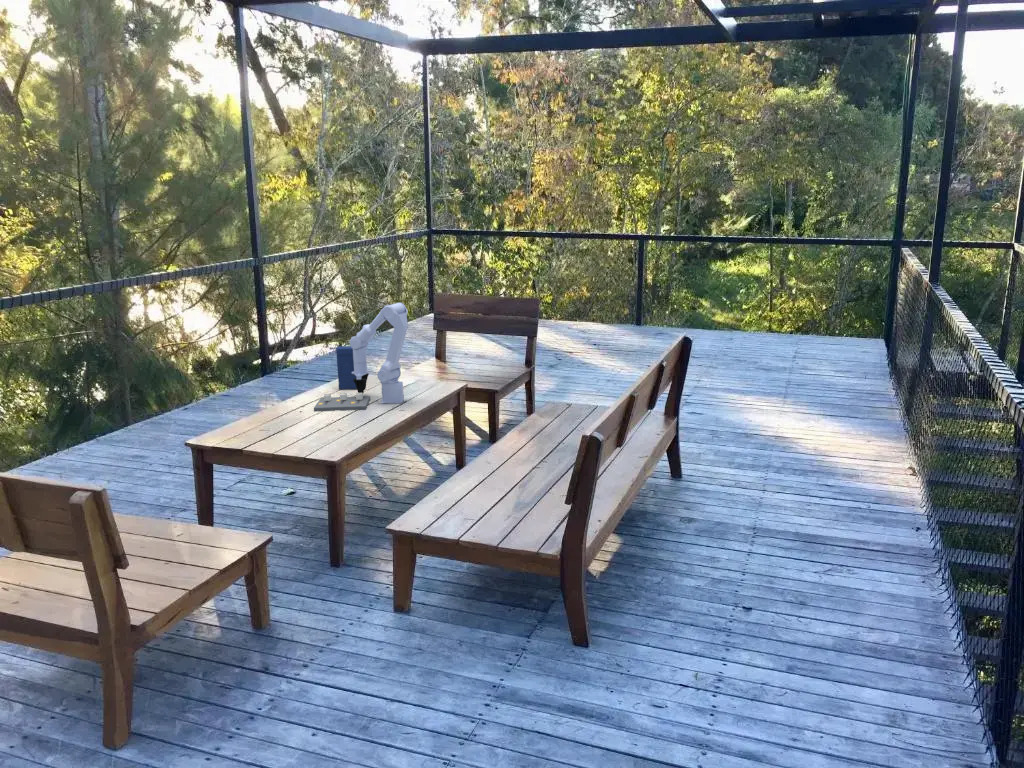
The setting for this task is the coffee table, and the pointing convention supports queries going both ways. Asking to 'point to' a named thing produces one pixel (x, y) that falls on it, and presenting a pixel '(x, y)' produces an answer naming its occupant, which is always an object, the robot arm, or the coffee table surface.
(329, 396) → the switch
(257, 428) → the coffee table surface
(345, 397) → the switch
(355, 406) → the switch panel
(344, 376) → the electronic device
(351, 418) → the coffee table surface
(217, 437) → the coffee table surface
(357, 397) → the switch
